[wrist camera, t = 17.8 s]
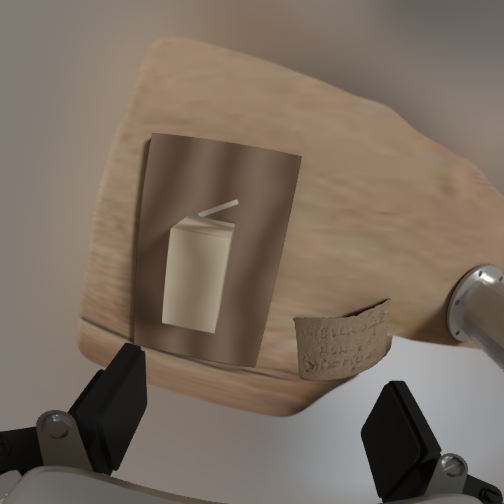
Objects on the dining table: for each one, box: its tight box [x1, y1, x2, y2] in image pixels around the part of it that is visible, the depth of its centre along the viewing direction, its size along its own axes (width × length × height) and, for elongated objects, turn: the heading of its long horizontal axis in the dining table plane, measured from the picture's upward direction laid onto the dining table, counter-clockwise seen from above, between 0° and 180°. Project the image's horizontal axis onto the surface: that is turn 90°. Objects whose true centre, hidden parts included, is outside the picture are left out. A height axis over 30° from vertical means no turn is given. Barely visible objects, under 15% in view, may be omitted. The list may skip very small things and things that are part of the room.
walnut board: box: [134, 133, 302, 368], centre depth 34 cm, size 16×26×2 cm, turn 170°
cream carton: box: [162, 214, 235, 333], centre depth 30 cm, size 5×9×8 cm, turn 169°
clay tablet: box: [293, 298, 393, 380], centre depth 37 cm, size 14×10×3 cm
